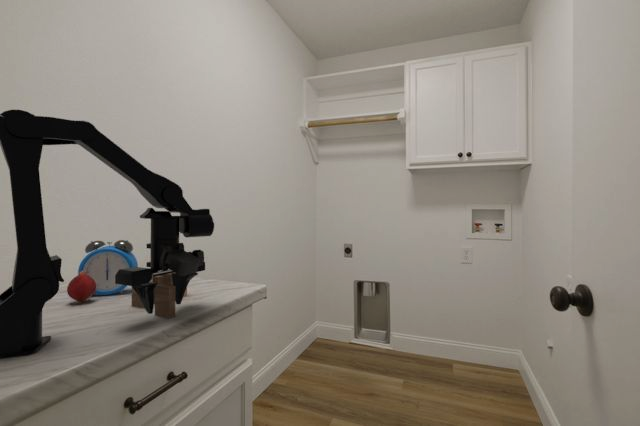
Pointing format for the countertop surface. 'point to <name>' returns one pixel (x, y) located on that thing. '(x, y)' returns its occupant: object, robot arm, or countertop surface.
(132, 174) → the robot arm
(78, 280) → the onion
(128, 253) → the alarm clock
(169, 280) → the tile
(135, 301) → the tile
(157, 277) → the tile
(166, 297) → the tile
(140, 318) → the countertop surface
